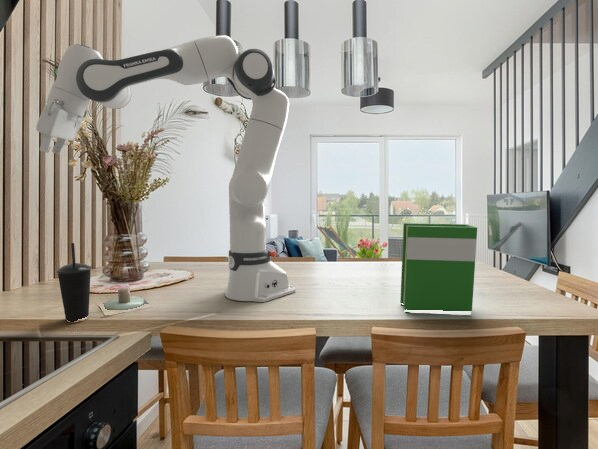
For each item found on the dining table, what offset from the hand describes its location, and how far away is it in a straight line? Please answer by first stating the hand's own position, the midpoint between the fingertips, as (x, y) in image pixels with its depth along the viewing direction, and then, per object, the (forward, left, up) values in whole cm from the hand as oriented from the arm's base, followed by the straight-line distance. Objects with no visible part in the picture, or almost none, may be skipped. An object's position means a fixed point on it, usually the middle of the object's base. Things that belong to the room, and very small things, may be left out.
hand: (50, 152), depth 102 cm
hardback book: (-83, +66, -43) cm, 114 cm away
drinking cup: (-2, +17, -43) cm, 46 cm away
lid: (-14, +13, -42) cm, 46 cm away
